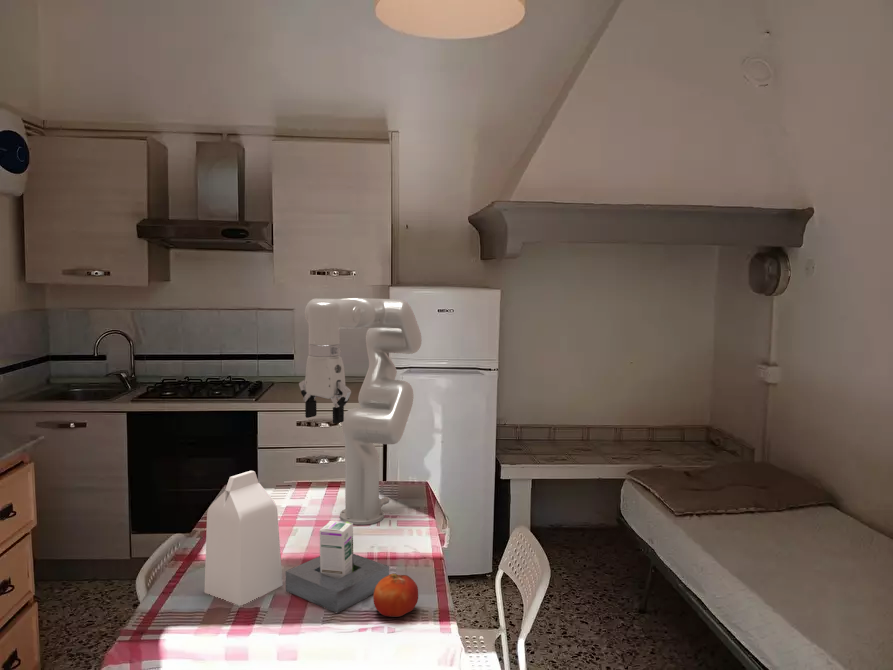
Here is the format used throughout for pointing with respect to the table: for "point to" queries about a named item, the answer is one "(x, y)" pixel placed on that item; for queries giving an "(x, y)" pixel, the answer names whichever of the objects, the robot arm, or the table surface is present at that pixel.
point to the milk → (242, 542)
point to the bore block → (335, 583)
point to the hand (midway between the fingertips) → (324, 419)
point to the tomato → (395, 595)
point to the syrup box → (336, 549)
